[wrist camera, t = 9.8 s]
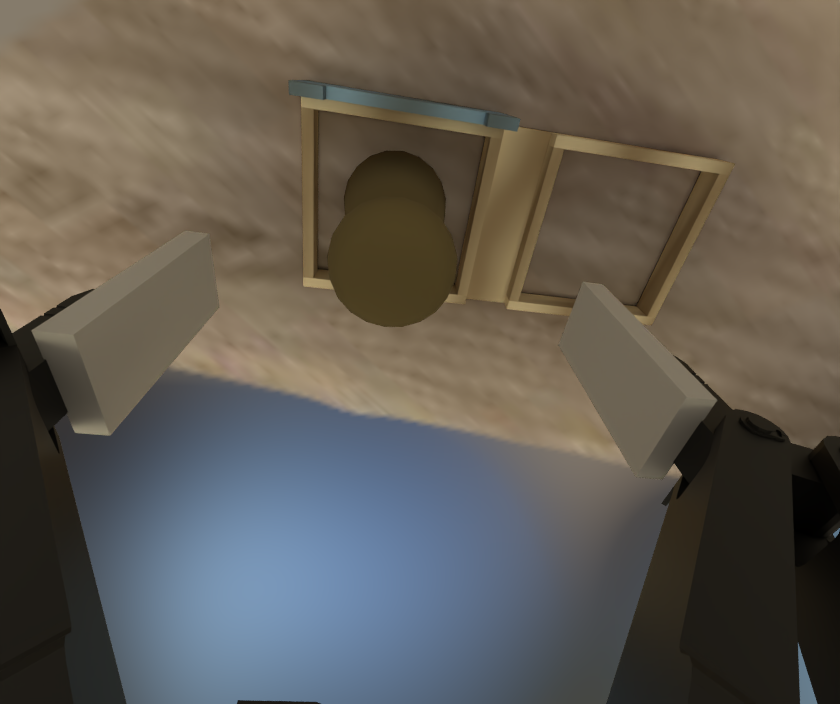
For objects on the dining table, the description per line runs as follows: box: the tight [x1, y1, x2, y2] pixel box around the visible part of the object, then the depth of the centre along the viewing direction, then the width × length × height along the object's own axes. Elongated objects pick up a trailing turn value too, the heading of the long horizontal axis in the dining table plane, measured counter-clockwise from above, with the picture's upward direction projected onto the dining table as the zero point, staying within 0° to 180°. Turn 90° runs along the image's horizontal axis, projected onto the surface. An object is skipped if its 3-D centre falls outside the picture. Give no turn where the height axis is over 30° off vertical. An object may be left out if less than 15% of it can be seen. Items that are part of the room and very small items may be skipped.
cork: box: [327, 151, 457, 327], centre depth 20 cm, size 6×6×11 cm
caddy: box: [289, 80, 735, 325], centre depth 23 cm, size 23×11×4 cm, turn 82°
